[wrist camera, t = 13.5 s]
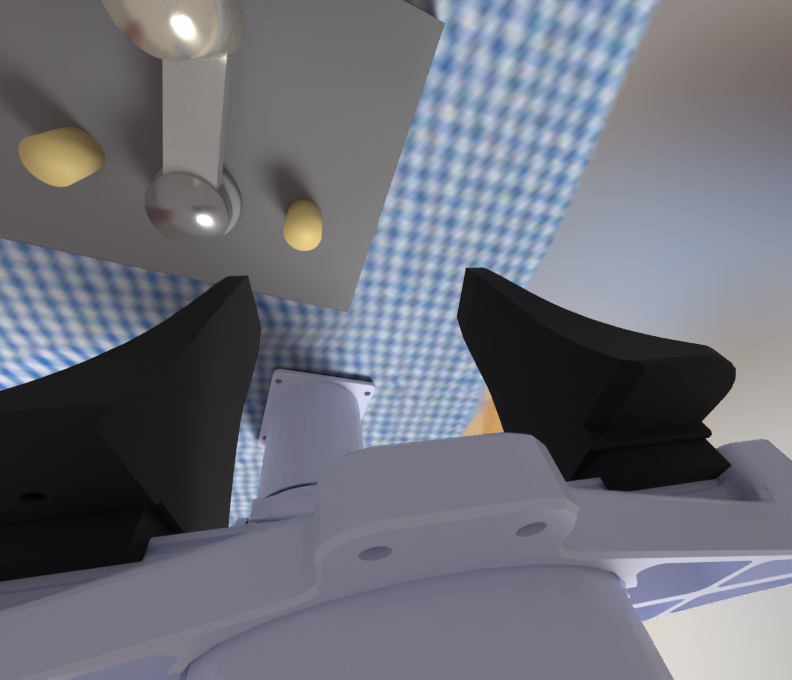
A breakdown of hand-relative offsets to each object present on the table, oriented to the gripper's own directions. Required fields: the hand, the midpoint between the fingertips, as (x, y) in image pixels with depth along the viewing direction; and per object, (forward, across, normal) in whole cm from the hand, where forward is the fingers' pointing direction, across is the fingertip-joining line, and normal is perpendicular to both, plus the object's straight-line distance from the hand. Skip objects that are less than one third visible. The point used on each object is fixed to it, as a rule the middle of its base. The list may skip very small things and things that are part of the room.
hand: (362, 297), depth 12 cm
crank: (+8, +6, -4) cm, 10 cm away
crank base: (+10, +7, -3) cm, 13 cm away
